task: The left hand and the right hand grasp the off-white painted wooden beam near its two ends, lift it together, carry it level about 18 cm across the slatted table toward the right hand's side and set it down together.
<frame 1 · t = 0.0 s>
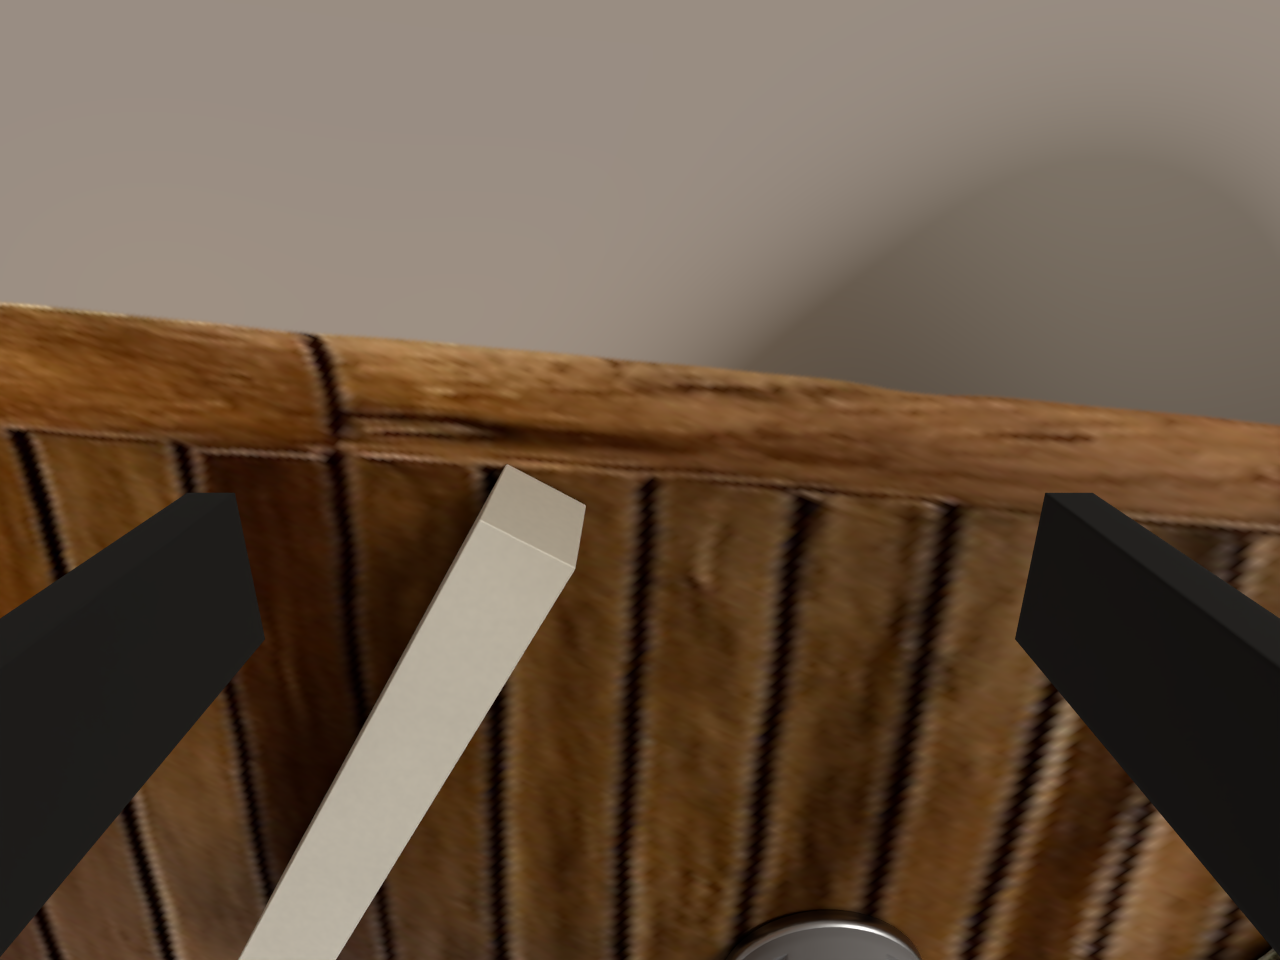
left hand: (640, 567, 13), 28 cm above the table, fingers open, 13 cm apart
beam: (421, 703, 47), on the table
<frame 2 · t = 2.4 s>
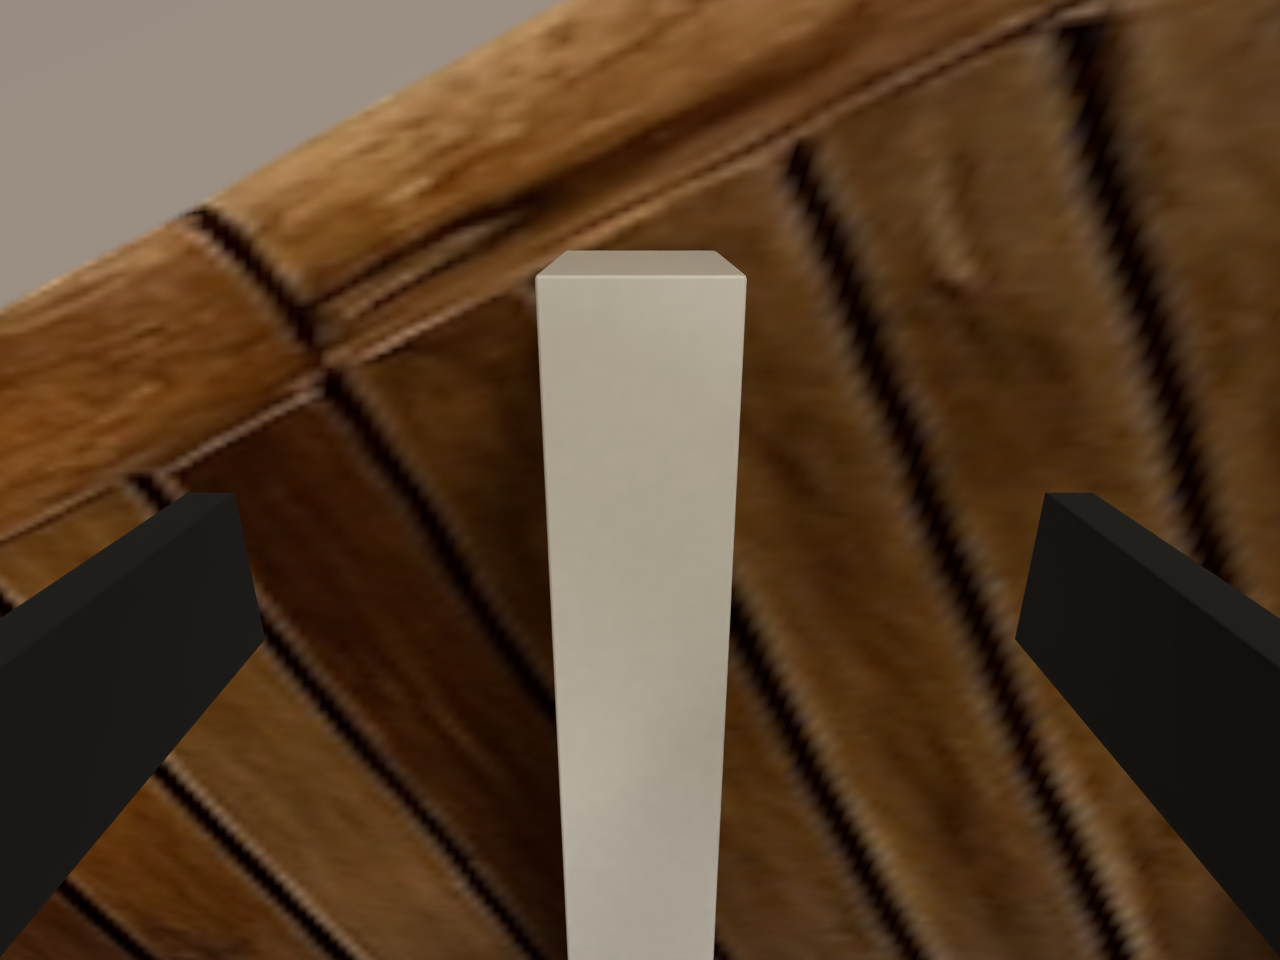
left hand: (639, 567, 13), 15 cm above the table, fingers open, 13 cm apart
beam: (640, 684, 31), on the table
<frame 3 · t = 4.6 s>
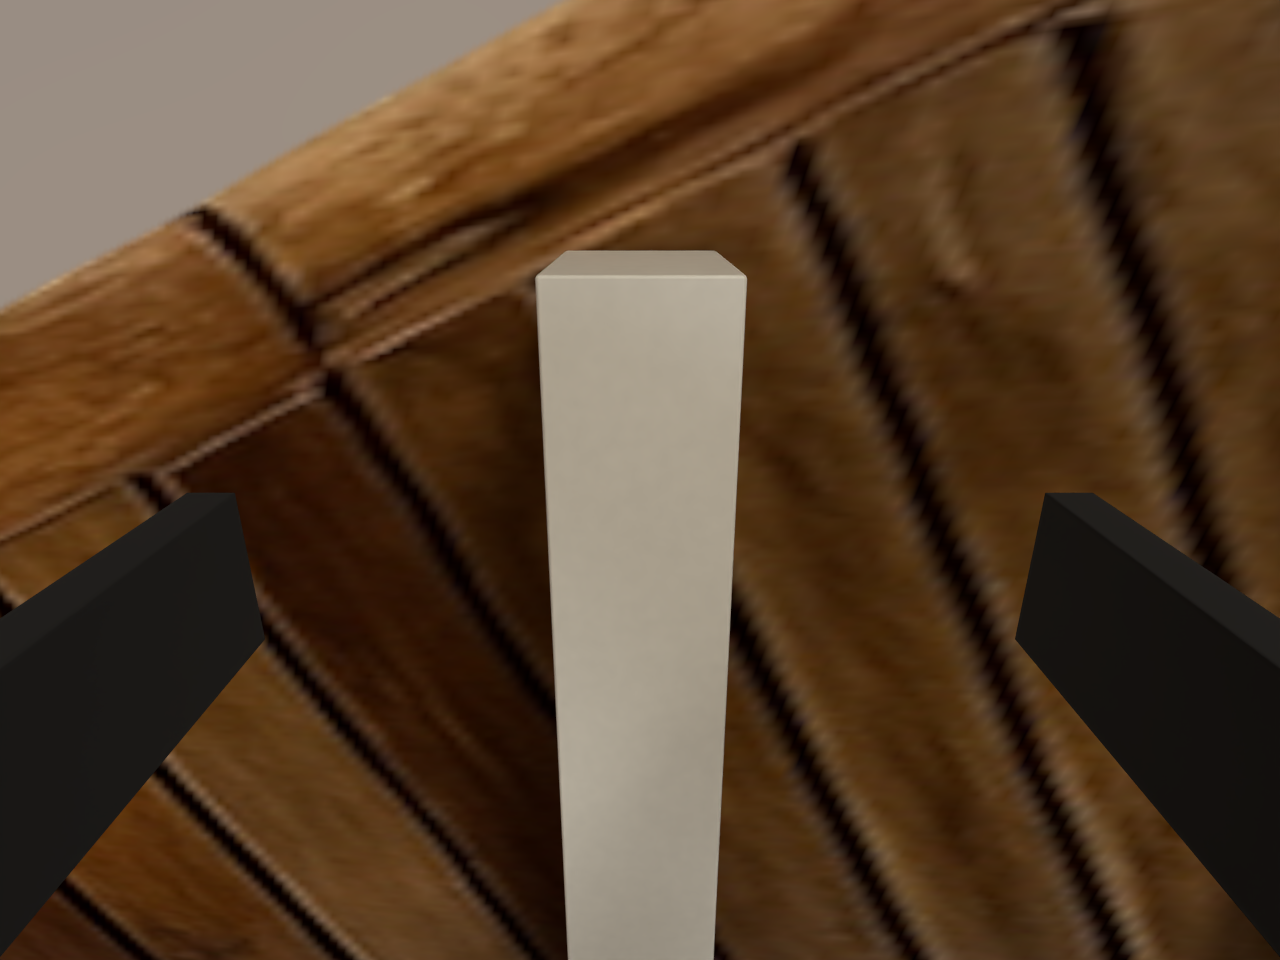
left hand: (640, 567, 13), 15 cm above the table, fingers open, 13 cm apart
beam: (640, 684, 31), on the table, touching right hand
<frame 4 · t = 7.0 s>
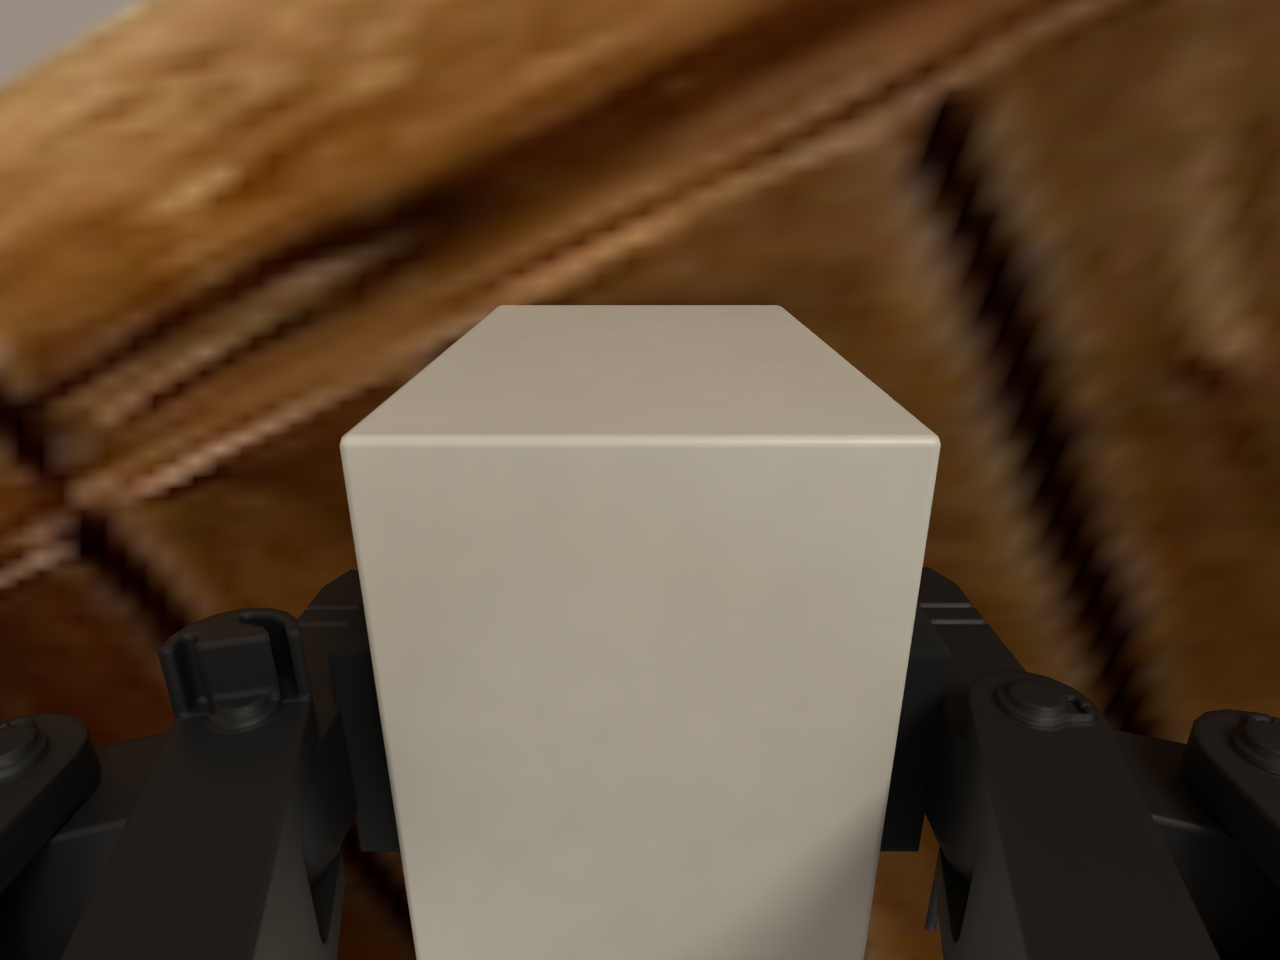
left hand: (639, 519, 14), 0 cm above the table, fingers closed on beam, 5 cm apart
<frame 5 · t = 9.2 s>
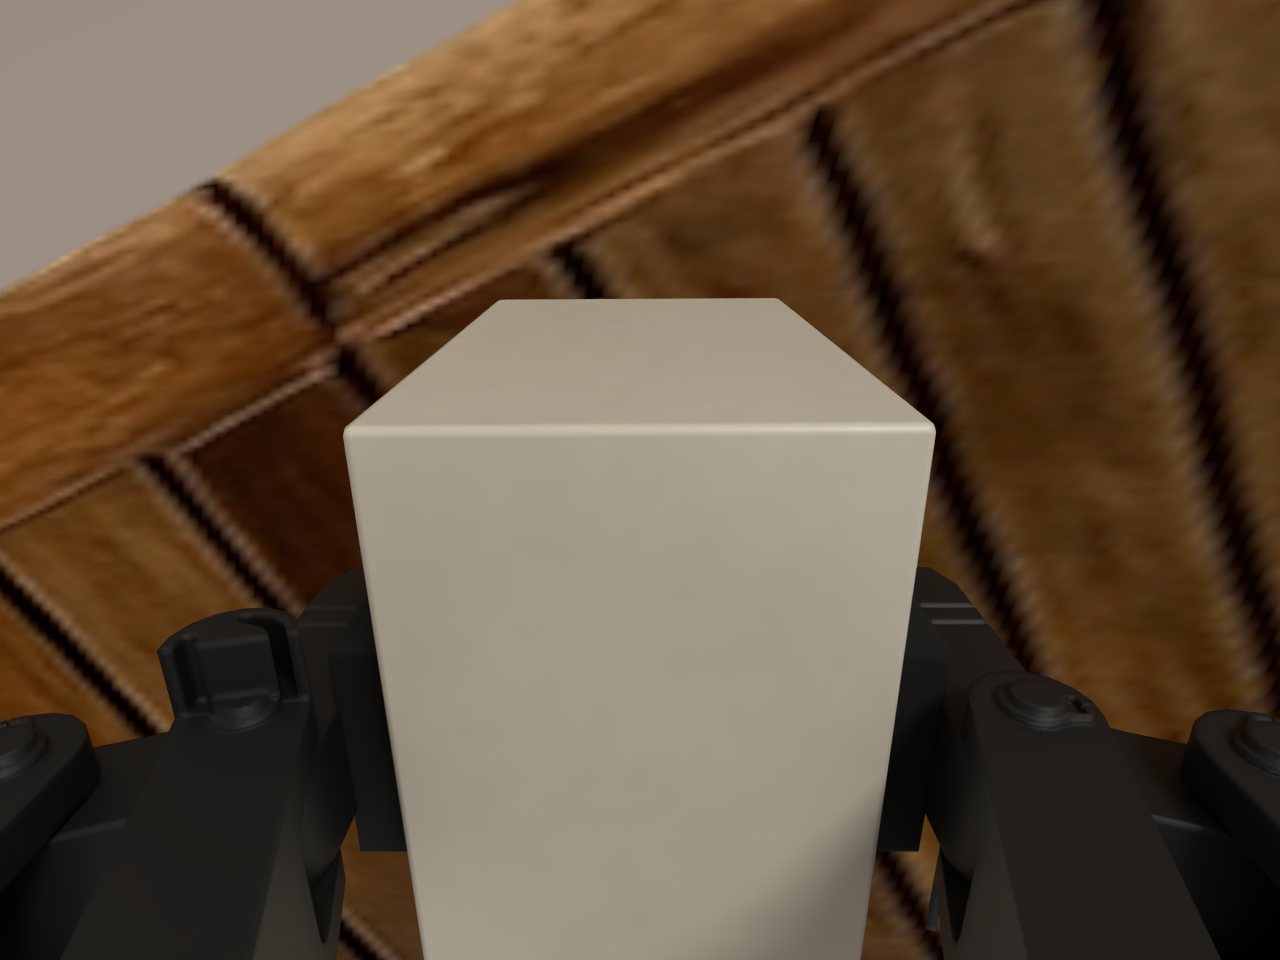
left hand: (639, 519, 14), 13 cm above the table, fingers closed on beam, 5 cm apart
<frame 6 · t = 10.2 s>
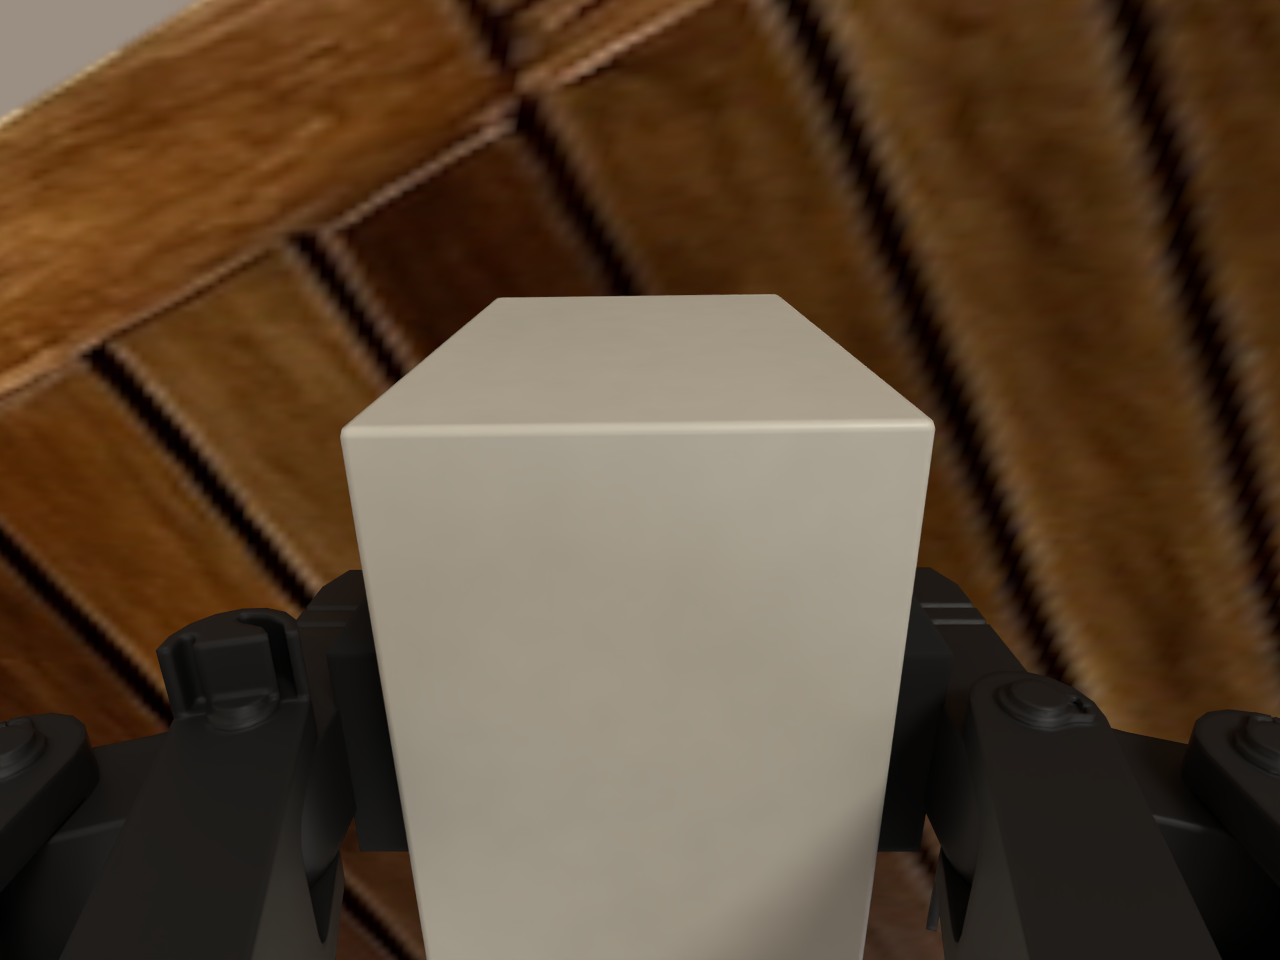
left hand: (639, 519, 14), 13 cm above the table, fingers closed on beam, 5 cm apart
when the left hand's fingers open (1 cm above the table, at t = 13.6 s): beam stays where it is, on the table.
when the right hand's fingers open (3 cm above the table, at t = 13.8 s): beam stays where it is, on the table.
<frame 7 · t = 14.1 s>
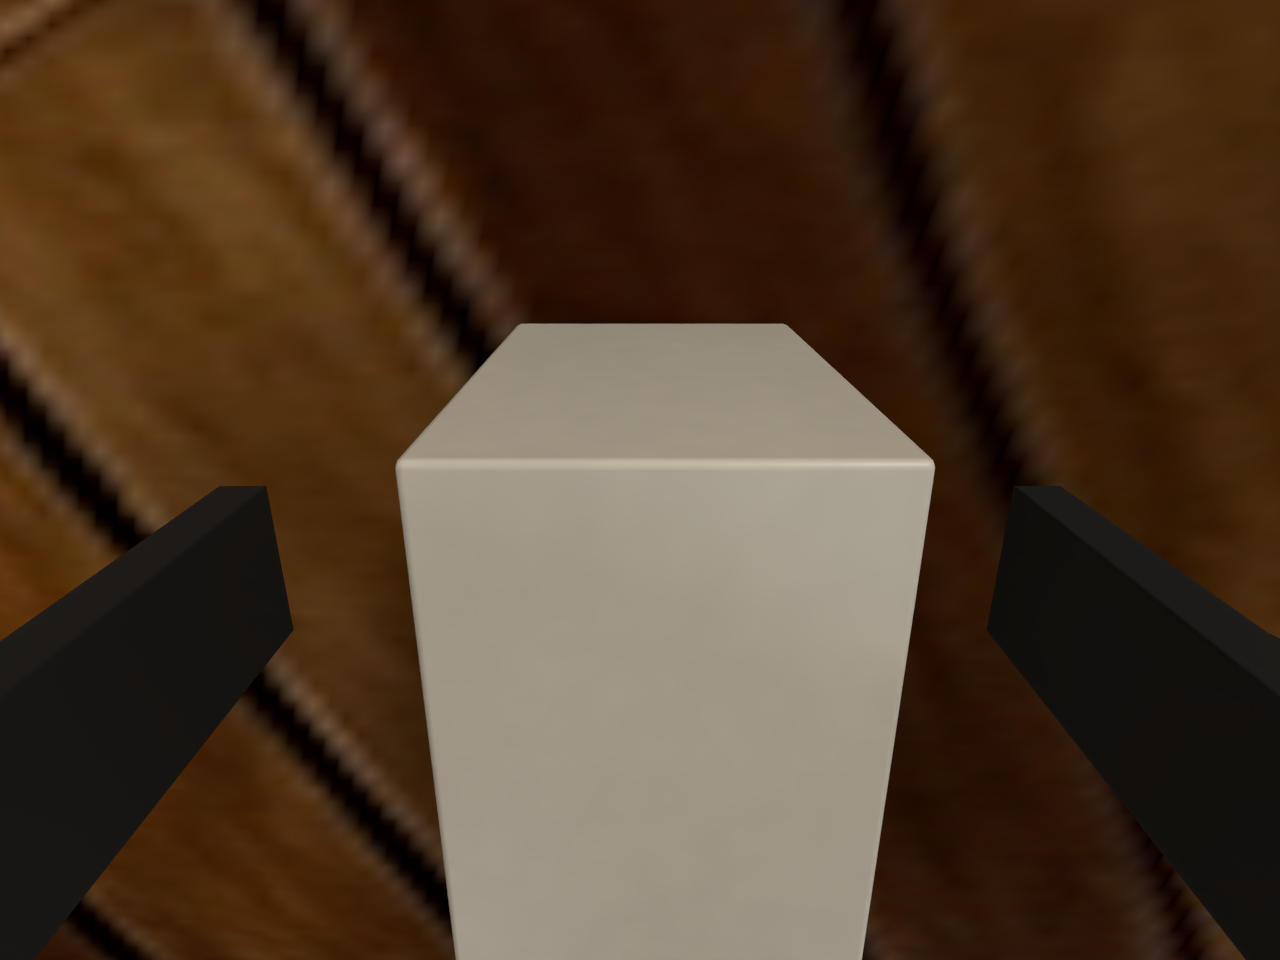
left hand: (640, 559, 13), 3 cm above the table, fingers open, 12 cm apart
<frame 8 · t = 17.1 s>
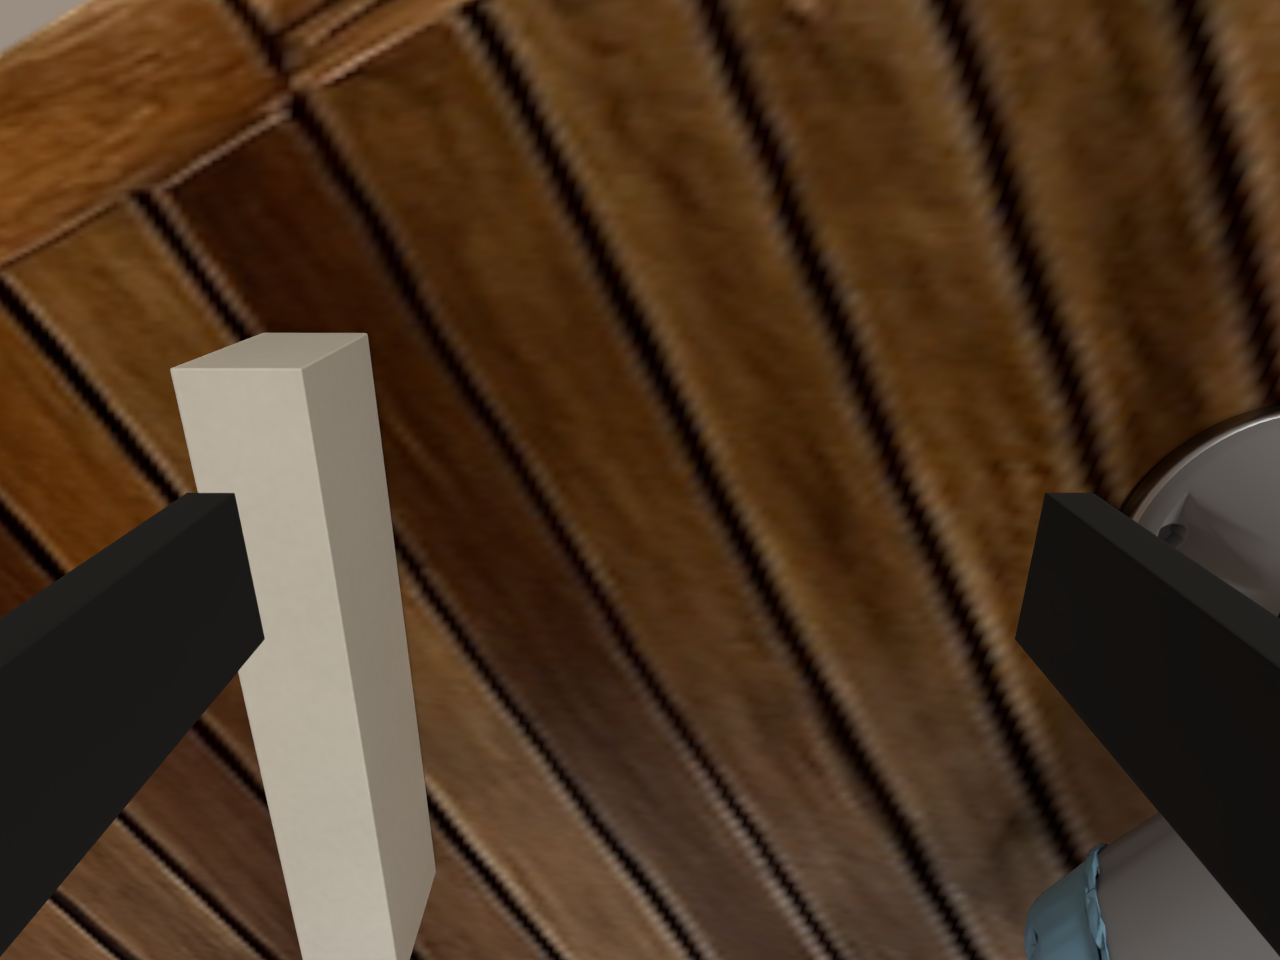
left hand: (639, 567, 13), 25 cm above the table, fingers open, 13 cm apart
beam: (362, 641, 42), on the table
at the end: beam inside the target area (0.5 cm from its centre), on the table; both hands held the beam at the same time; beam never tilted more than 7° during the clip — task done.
